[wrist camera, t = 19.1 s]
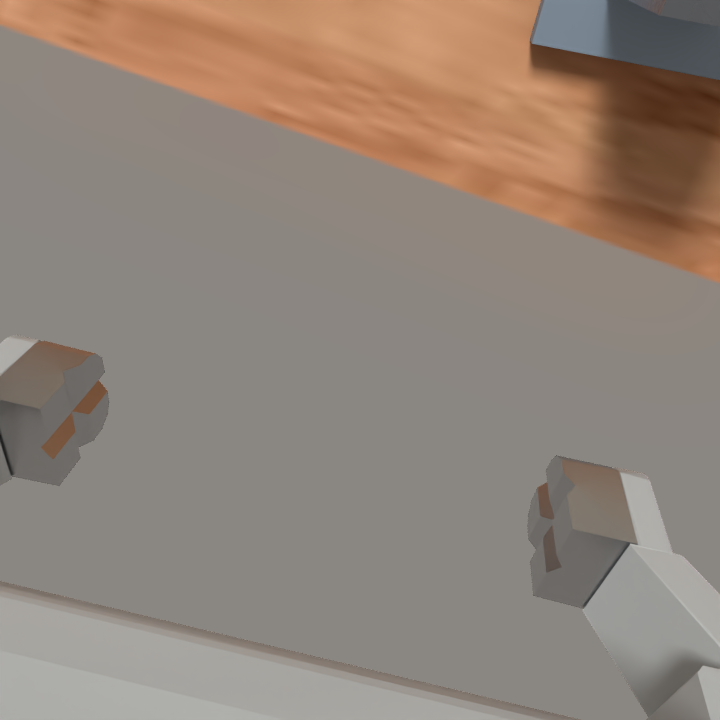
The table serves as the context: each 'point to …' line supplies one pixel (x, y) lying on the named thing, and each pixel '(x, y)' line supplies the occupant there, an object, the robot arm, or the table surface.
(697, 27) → the shaft base
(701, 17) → the steel collar
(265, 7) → the table surface
